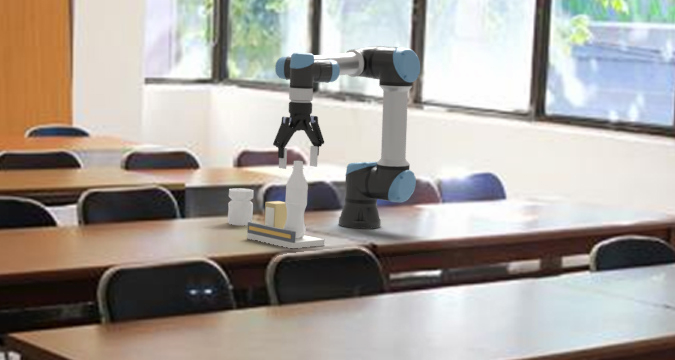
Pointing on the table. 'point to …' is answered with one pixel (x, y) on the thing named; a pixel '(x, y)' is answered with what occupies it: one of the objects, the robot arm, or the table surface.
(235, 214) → the white jar
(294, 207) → the water bottle
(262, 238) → the shelf board
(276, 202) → the tea box
